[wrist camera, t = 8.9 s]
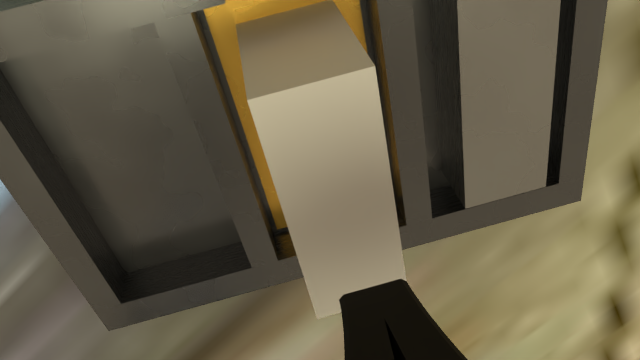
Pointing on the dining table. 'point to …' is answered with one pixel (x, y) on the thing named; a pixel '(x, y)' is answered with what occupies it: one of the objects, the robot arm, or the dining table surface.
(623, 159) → the dining table surface
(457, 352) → the robot arm
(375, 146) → the tall cream block
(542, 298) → the dining table surface
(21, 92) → the rack
